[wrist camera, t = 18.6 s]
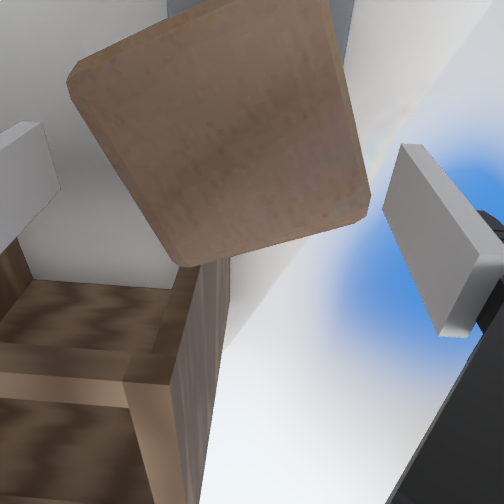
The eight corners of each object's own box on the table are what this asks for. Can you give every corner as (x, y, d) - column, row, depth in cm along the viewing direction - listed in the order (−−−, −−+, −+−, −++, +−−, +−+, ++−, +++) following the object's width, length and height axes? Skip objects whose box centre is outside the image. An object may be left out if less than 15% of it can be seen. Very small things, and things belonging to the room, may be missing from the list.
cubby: (26, 286, 49) (-154, 515, 29) (-38, 131, 37) (-429, 338, 17) (229, 301, 48) (192, 545, 28) (231, 149, 36) (169, 385, 16)
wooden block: (171, 15, 30) (43, 77, 14) (296, -43, 27) (319, -51, 11) (222, 136, 35) (174, 280, 19) (330, 97, 32) (379, 226, 16)
